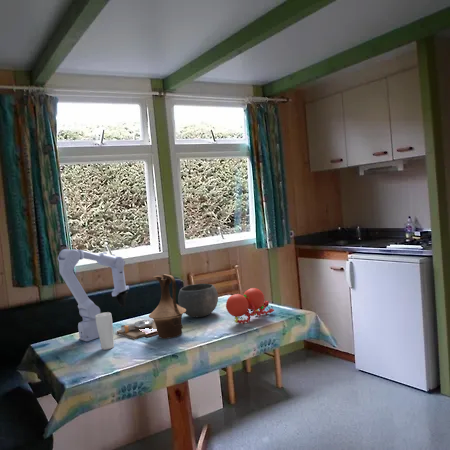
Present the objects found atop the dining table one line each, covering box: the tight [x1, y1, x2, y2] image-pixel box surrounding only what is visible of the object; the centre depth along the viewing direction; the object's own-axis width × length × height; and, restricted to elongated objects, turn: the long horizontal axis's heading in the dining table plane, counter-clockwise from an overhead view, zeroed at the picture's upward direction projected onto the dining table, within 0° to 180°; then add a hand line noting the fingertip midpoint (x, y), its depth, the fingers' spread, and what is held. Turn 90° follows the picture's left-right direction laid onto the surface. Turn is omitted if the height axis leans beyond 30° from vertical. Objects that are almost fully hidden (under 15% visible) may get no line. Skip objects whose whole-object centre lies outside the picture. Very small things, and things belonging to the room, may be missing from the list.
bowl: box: [177, 283, 219, 318], centre depth 234 cm, size 20×20×15 cm
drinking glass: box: [95, 311, 115, 351], centre depth 200 cm, size 7×7×15 cm
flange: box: [120, 319, 153, 331], centre depth 220 cm, size 15×9×2 cm, turn 107°
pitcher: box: [148, 273, 186, 339], centre depth 207 cm, size 18×17×28 cm
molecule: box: [225, 287, 275, 325], centre depth 216 cm, size 25×11×15 cm, turn 134°
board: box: [116, 319, 157, 340], centre depth 221 cm, size 20×17×2 cm
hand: (122, 306), depth 231 cm, fingers closed
